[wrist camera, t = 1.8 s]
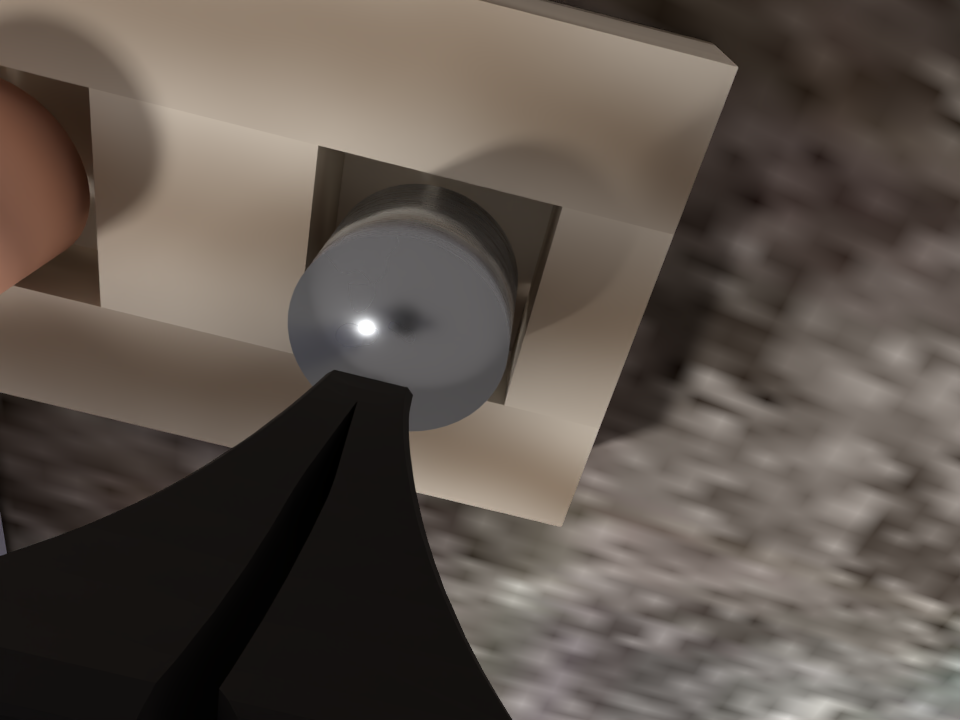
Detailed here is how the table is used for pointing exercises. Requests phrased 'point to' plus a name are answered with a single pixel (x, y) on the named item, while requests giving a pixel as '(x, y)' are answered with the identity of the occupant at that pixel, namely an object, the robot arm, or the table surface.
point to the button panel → (351, 203)
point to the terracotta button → (36, 187)
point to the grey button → (411, 301)
